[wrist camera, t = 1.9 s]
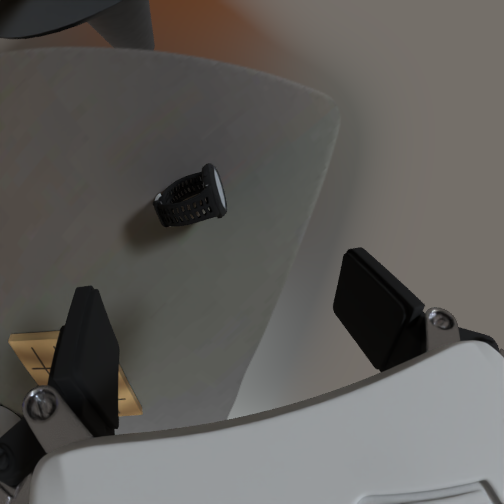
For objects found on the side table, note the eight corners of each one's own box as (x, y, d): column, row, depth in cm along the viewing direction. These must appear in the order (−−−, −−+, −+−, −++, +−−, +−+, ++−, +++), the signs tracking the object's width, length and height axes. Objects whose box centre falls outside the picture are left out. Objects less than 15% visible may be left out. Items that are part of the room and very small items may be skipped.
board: (10, 333, 22) (7, 342, 21) (102, 326, 25) (101, 335, 24) (66, 410, 31) (66, 418, 29) (142, 407, 34) (142, 415, 32)
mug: (-37, 455, 16) (-28, 400, 25) (-4, 476, 20) (0, 425, 29) (13, 467, 19) (19, 403, 27) (47, 486, 23) (47, 428, 32)
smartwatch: (218, 207, 23) (233, 235, 19) (153, 207, 21) (152, 237, 17) (224, 156, 21) (241, 173, 17) (155, 155, 19) (153, 171, 15)
